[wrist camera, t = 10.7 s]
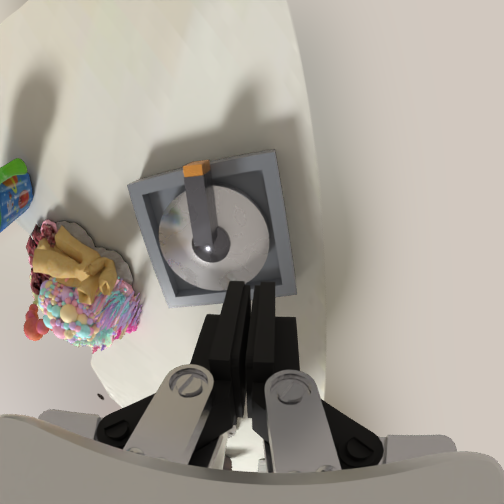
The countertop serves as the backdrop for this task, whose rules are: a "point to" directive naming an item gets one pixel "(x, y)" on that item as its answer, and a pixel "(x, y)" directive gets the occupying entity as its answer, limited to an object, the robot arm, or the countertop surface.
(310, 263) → the countertop surface
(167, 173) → the housing
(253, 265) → the dial
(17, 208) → the snack cup
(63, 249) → the pastel sphere sculpture
